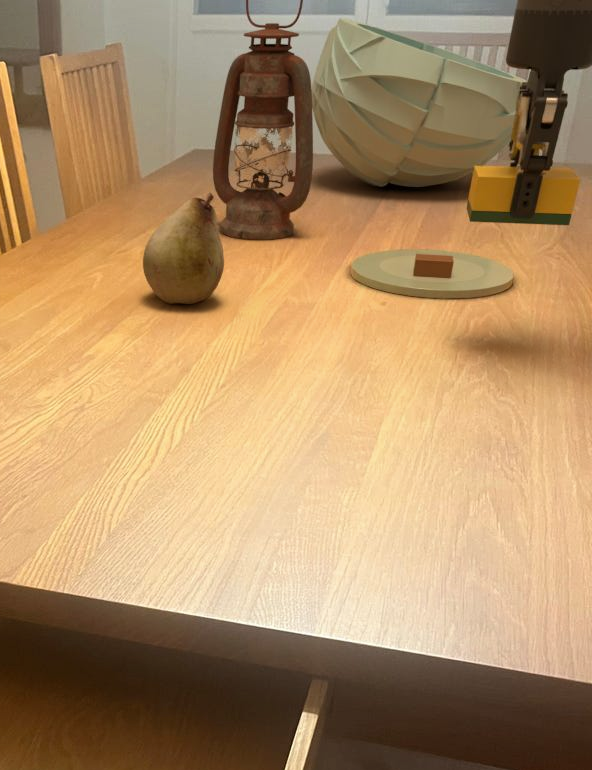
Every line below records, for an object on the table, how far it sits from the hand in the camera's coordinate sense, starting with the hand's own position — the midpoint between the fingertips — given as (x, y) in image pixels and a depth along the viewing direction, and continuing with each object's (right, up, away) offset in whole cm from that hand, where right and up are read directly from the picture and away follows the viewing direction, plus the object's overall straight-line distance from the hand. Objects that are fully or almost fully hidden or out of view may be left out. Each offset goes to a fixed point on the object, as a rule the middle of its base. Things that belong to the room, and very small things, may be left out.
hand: (517, 209), depth 94 cm
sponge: (0, -1, 0) cm, 1 cm away
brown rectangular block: (0, +4, +27) cm, 27 cm away
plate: (+1, +5, +30) cm, 30 cm away
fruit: (-31, -1, +22) cm, 38 cm away
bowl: (+13, +40, +80) cm, 90 cm away
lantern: (-18, +19, +51) cm, 57 cm away
